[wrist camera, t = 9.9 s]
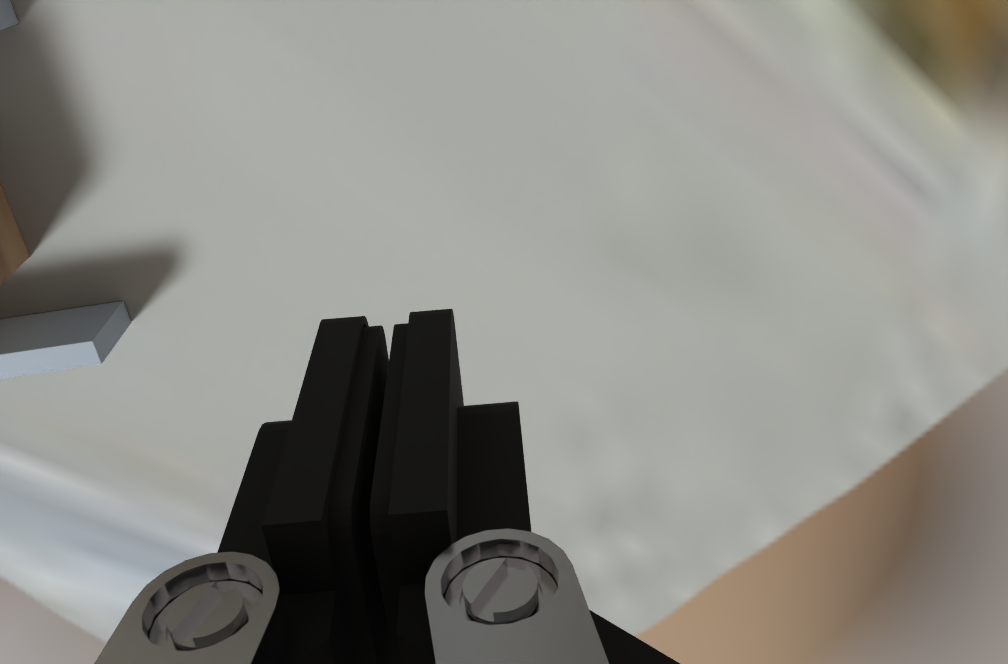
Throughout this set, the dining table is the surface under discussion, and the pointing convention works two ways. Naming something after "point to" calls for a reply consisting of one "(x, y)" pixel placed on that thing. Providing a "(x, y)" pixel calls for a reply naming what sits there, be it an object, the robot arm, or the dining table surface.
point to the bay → (57, 321)
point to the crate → (10, 241)
